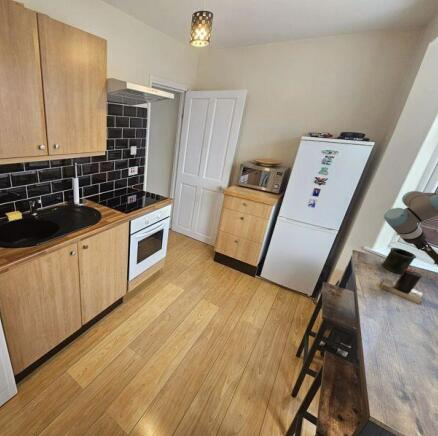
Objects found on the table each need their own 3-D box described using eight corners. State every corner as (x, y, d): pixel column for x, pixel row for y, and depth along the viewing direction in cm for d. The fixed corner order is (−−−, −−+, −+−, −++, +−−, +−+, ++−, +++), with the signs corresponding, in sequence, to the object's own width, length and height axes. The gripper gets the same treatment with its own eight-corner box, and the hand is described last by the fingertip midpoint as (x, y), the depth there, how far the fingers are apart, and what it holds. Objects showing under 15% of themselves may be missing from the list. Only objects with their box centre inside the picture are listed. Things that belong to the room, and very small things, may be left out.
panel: (419, 297, 118) (422, 292, 116) (418, 305, 112) (421, 300, 110) (383, 282, 127) (385, 277, 126) (380, 289, 121) (383, 284, 120)
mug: (380, 268, 140) (391, 251, 135) (380, 259, 150) (390, 244, 145) (405, 277, 134) (417, 260, 129) (404, 267, 143) (414, 251, 139)
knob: (411, 289, 118) (422, 273, 114) (410, 294, 114) (422, 277, 110) (395, 283, 122) (405, 267, 118) (393, 287, 118) (404, 271, 114)
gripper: (383, 221, 117) (404, 244, 123) (422, 256, 97) (445, 281, 103) (400, 213, 113) (421, 236, 119) (445, 246, 93) (467, 273, 99)
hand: (432, 257), depth 111 cm, fingers open, 13 cm apart
